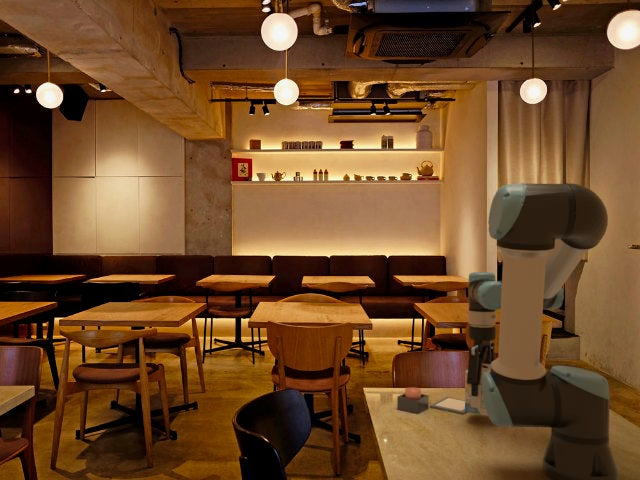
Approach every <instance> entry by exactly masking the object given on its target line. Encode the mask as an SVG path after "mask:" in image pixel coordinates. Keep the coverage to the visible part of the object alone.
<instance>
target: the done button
mask: <svg viewBox="0 0 640 480" xmlns="http://www.w3.org/2000/svg"><path fill="white" fill-rule="evenodd" d="M404 393H405V397H406V398H411V399H416V400H417V399H419V398H421V394H422V389H421V388H418V387H414V386H413V387H411V386H410V387H405V389H404Z"/></svg>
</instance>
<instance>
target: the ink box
mask: <svg viewBox="0 0 640 480" xmlns="http://www.w3.org/2000/svg"><path fill="white" fill-rule="evenodd" d="M483 365H485V366H487V367H488V368H483V367H482V371H481V377H480V383H479V384H480V385H481V408H475V407H471V384H468V383H467V375H468V369H467V370H465V373H464V376H465V378H464V379H465V380H464V400H465V412H467V413H469V414H475V415H484V416H488V414H487V410H486V407H485V403H484V398H483V392H482V374H483V373H485V372H491V364H483ZM483 365H482V366H483Z"/></svg>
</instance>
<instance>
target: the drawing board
mask: <svg viewBox="0 0 640 480" xmlns="http://www.w3.org/2000/svg"><path fill="white" fill-rule="evenodd" d="M429 408H430V409H436V410H440V411H444V412H445V411H446V412H449V413H454V414H459V415H462V416H464V415H465V414H467V413H468V412H465V399H460V398H455V397H449V396H445V397H444V398H442V399H439V400H438V401H436V402H435V403H433V404H430V405H429Z"/></svg>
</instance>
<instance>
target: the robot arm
mask: <svg viewBox="0 0 640 480" xmlns="http://www.w3.org/2000/svg"><path fill="white" fill-rule="evenodd" d="M488 215H489V216H488V233H489V236H490V237H491V239H494V240H495V241H496V247H497V249H498V250H500V251H501V253H502V255H503V257H502V274H501V275H502V276H501V277H502V279H501V280H496V275H495V273H493V272H470V273H469V275H468V282H467V286H468V322H467V323H468V324H469V326H468V338H469V339H470V340H473V346H472V347H471V346H469V347H468V354H469V355H468V367H467V370H468V375H467V383H468V384H471V407H475V408H481V385H480V384H479V383H480V377H481V371H482V368H488V367H487V366H485V365H483V364H491V372H485V373H483V374H482V392H483V398H484V403H485V407H486V410H487V414H488V415H487V416H488V418H489V420H490V421H491V423H492V424H493V425H495V426H500V427H501V426H502V427H510V428H550V430H551V431H550V434H551V435H550V438H549V441H548V443H547V447H546V448H545V450H544V451H545V452H544V455H543V457H542V471H543V472H544V473H545V475H547V476H548V477H549V478H551V479H552V480H619V470H618V467H617V464H616V463H617V462H616V461H615V457H614V454H613V451H612V449H611V445H610V400H611V396H610V385H609V382H608V379H606V378H605V377H604V376H603V375H601V374H599V373H597V372H594V371H591V370H587V369H584V368H579V367H574V366H569V365H554V366H552V367H551V368H550V373H547V369H546V367H545V366H544V365H543V364H542V363H541V362H540V360H541V357H540V356H541V343H542V329H543V328H542V326H543V313H544V312H543V310H544V311H545V310H546V311H549V310H558V309H559V308H561V307H562V305H563V301H564V299H565V298H564V295H565V294H564V289H563V286H564V285H565V283H566V281H567V280H568V279H569V278H570V276H571V274H572V273H573V271H574V270H575V269H576V267H577V266H578V265H579V264H580V262H581V260H582V259H583V257H585V254H586V253H587V252H588V251H589V250H592V249H594V248H596V246H598V244H600V242H601V241H602V239H603V238H604V237H605V235H606V232H607V230H608V229H607V227H608V221H609V215H608V210H607V207H606V206H605V204H604V201H603V199H601V197H600V196H598V194H596V192H595V191H594V190H592V189H590V188H589V187H587V186H584V185H581V184H577V183H571V182H569V183H567V182H566V183H523V182H520V183H511V184H505V185H501V186H500V187H499V188H498V189H497V190H496V192H495V194H494V195H493V198H492V201H491V205H490V208H489V214H488ZM499 310H500V314H499V315H500V317H499V336H498V337H499V338H498V357H497V358H496V351H495V346H496V345H495V342H492V341H495V340H496V336H497V335H496V334H497V333H496V332H497V331H496V327H495V326H496V319H497V318H498V316H497V314H496V311H499Z"/></svg>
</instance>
